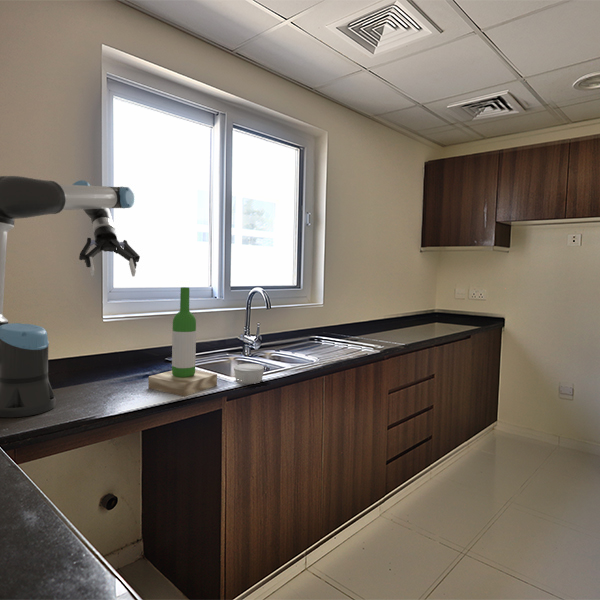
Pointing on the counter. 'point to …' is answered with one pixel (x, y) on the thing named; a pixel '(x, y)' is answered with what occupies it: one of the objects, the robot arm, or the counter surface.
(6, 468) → the counter surface
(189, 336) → the wine bottle
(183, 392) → the birch base
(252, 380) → the ramekin
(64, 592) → the counter surface
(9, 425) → the counter surface
